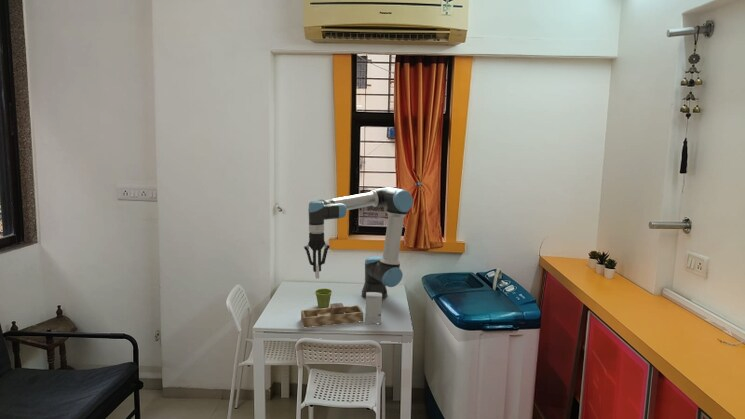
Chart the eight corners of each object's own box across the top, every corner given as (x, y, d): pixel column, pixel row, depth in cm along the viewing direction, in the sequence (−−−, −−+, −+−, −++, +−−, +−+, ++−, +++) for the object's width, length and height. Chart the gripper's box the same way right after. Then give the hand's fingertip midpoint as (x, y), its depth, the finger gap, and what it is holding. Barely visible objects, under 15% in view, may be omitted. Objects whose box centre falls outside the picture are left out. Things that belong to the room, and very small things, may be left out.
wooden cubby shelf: (358, 314, 239) (358, 305, 238) (363, 321, 230) (363, 312, 229) (301, 319, 231) (301, 310, 230) (303, 327, 221) (303, 318, 221)
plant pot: (329, 310, 243) (329, 295, 242) (312, 308, 245) (312, 293, 244) (334, 304, 252) (334, 289, 251) (318, 302, 254) (317, 287, 253)
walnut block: (341, 312, 234) (341, 302, 233) (344, 316, 228) (344, 307, 227) (330, 313, 232) (330, 303, 231) (332, 317, 227) (332, 308, 226)
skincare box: (364, 324, 227) (365, 295, 224) (365, 319, 233) (365, 291, 230) (381, 324, 227) (382, 296, 224) (381, 319, 233) (382, 291, 230)
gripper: (304, 234, 220) (305, 281, 224) (331, 233, 224) (331, 278, 228) (302, 231, 227) (303, 276, 231) (327, 229, 231) (328, 274, 235)
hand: (317, 277), depth 230 cm, fingers closed
